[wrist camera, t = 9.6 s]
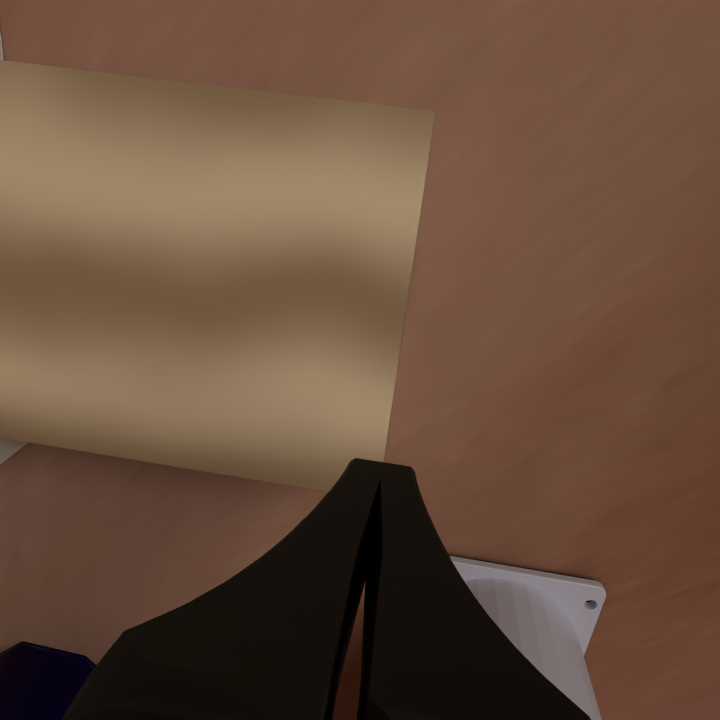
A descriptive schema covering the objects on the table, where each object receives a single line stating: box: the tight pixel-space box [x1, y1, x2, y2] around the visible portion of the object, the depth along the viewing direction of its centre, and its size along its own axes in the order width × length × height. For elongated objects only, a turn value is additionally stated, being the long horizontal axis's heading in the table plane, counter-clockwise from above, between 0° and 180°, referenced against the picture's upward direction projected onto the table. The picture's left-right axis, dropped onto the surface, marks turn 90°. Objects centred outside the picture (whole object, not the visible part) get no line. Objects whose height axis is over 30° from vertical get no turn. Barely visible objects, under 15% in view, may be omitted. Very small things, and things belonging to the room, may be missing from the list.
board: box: [0, 60, 435, 492], centre depth 19 cm, size 12×14×4 cm
